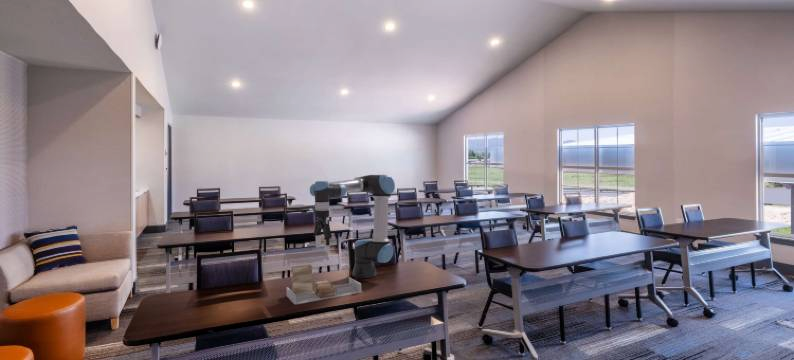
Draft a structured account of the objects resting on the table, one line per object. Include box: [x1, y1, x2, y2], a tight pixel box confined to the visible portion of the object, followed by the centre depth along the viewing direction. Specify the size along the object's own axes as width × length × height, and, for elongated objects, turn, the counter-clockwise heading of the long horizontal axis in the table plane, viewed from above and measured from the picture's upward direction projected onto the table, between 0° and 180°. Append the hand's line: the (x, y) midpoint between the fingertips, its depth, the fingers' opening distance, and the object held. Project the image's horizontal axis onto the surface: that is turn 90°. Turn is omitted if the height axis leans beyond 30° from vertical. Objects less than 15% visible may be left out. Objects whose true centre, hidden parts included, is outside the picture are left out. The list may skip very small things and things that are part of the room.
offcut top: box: [315, 280, 332, 290], centre depth 235 cm, size 9×6×2 cm
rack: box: [286, 276, 362, 305], centre depth 235 cm, size 16×37×6 cm, turn 118°
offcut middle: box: [314, 285, 336, 295], centre depth 235 cm, size 11×7×2 cm
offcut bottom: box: [313, 288, 335, 298], centre depth 235 cm, size 12×8×2 cm, turn 28°
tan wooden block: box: [291, 264, 314, 296], centre depth 229 cm, size 4×10×17 cm, turn 118°
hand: (322, 249), depth 231 cm, fingers open, 13 cm apart
